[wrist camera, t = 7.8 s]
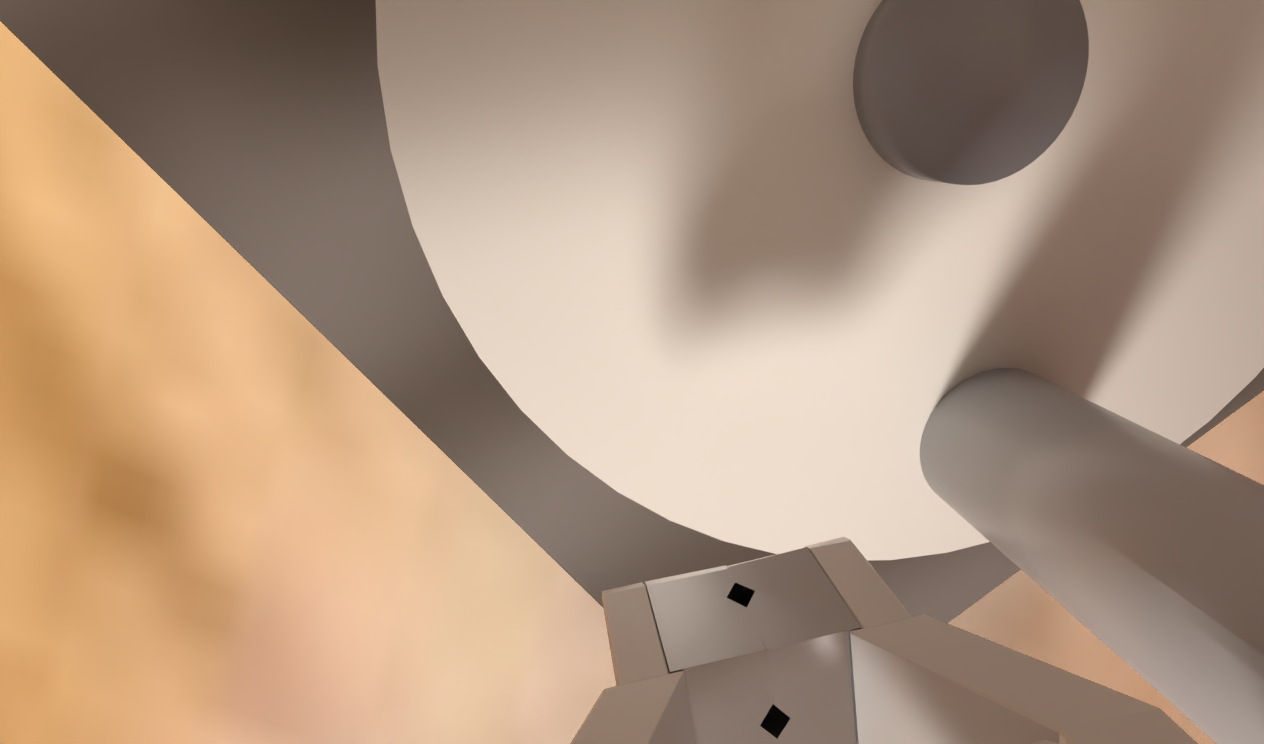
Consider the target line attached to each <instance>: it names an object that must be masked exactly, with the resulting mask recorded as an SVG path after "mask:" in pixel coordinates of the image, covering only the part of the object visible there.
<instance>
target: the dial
mask: <svg viewBox="0 0 1264 744" xmlns="http://www.w3.org/2000/svg"><path fill="white" fill-rule="evenodd" d="M376 31H377V65H378V72H379V79H380V85H381V91H382V98H383V104H384V111H385V117H386V124H387V130H388V136H389V143H390V149H391V153H392V156H393V160H394V163H395V167H396V170H397V174H398V177H399V181H400V184H401V188H402V191H403V195H404V198H405V202H406V205H407V209H408V212H409V215H410V219H411V222H412V226H413V228H414V231H415V233H416V235H417V238H418V240H419V242H420V245H421V247H422V249H423V252H424V254H425V256H426V258H427V261H428V263H429V265H430V268H431V270H432V272H433V275H434V277H435V279H436V282H437V284H438V286H439V289H440V291H441V293H442V296H443V297H444V299H445V301H446V302H447V304H448V306H449V307H450V309H451V311H452V312H453V314H454V316H455V317H456V319H457V321H458V322H459V324H460V326H461V328H462V329H463V331H464V333H465V334H466V336H467V338H468V339H469V341H470V343H471V344H472V346H473V348H474V349H475V351H476V353H477V354H478V356H479V358H480V359H481V360H482V361H483V363H484V364H485V365H486V366H487V368H488V369H489V370H490V372H491V373H492V374H493V375H494V377H495V378H496V379H497V380H498V382H499V383H500V384H501V385H502V387H503V388H504V389H505V391H506V392H507V393H508V394H509V396H510V397H511V398H512V399H513V401H514V402H515V403H516V404H517V406H518V407H519V408H520V409H521V411H522V412H523V413H524V414H525V415H527V416H528V417H529V418H530V419H531V420H532V421H533V422H534V423H535V424H536V425H537V426H538V427H539V428H540V429H541V430H542V431H543V432H544V433H545V434H546V435H547V436H548V437H549V438H550V439H551V440H552V441H553V442H554V443H555V444H556V445H558V446H559V447H560V448H561V449H562V450H563V451H564V452H565V453H566V454H567V455H568V456H569V457H571V458H572V459H573V460H575V461H576V462H577V463H579V464H580V465H582V466H583V467H584V468H586V469H587V470H588V471H590V472H591V473H592V474H594V475H595V476H596V477H598V478H599V479H601V480H602V481H603V482H605V483H606V484H607V485H609V486H610V487H611V488H613V489H614V490H615V491H617V492H619V493H620V494H622V495H624V496H626V497H628V498H629V499H631V500H633V501H635V502H637V503H639V504H640V505H642V506H644V507H646V508H648V509H650V510H651V511H653V512H655V513H657V514H659V515H661V516H662V517H664V518H666V519H668V520H670V521H672V522H675V523H677V524H680V525H683V526H685V527H688V528H690V529H693V530H696V531H698V532H701V533H703V534H706V535H709V536H711V537H714V538H716V539H719V540H722V541H724V542H728V543H733V544H737V545H741V546H745V547H749V548H753V549H757V550H762V551H766V552H770V553H774V554H780V553H784V552H788V551H793V550H797V549H801V548H804V547H805V546H809V545H813V544H817V543H820V542H824V541H828V540H832V539H836V538H840V537H846V538H848V539H851V541H852V542H853V543H854V544H855V546H856V547H857V548H858V550H859V551H860V552H861V553H862V555H863V556H864V557H865V558H866V560H896V559H904V558H911V557H919V556H926V555H934V554H941V553H948V552H952V551H956V550H960V549H964V548H968V547H972V546H976V545H980V544H984V543H987V542H991V543H992V544H993V545H994V546H995V547H996V548H997V549H999V550H1000V551H1001V552H1002V553H1003V554H1004V555H1005V556H1006V557H1008V558H1009V559H1010V560H1011V561H1012V562H1013V563H1014V564H1015V565H1017V566H1018V567H1019V568H1020V569H1021V570H1022V571H1023V572H1024V573H1026V574H1027V575H1028V576H1029V577H1030V578H1031V579H1032V580H1033V581H1035V582H1036V583H1037V584H1038V585H1039V586H1040V587H1041V588H1042V589H1043V590H1045V591H1046V592H1047V593H1048V594H1049V595H1050V596H1051V597H1052V598H1054V599H1055V600H1056V601H1057V602H1058V603H1059V604H1060V605H1061V606H1063V607H1064V608H1065V609H1066V610H1067V611H1068V612H1069V613H1070V614H1072V615H1073V616H1074V617H1075V618H1076V619H1077V620H1078V621H1079V622H1081V623H1082V624H1083V625H1084V626H1085V627H1086V628H1087V629H1088V630H1090V631H1091V632H1092V633H1093V634H1094V635H1095V636H1096V637H1097V638H1099V639H1100V640H1101V641H1102V642H1103V643H1104V644H1105V645H1106V646H1108V647H1109V648H1110V649H1111V650H1112V651H1113V652H1114V653H1115V654H1116V655H1118V656H1119V657H1120V658H1121V659H1122V660H1123V661H1124V662H1125V663H1127V664H1128V665H1129V666H1130V667H1131V668H1132V669H1133V670H1134V671H1136V672H1137V673H1138V674H1139V675H1140V676H1141V677H1142V678H1143V679H1145V680H1146V681H1147V682H1148V683H1149V684H1150V685H1151V686H1152V687H1154V688H1155V689H1156V690H1157V691H1158V692H1159V693H1160V694H1161V695H1163V696H1164V697H1165V698H1166V699H1167V700H1168V701H1169V702H1170V703H1172V704H1173V705H1174V706H1175V707H1176V708H1177V709H1178V710H1179V711H1181V712H1182V713H1183V714H1184V715H1185V716H1186V717H1187V718H1188V719H1189V720H1191V721H1192V722H1193V723H1194V724H1195V725H1196V726H1197V727H1198V728H1200V729H1201V730H1202V731H1203V732H1204V733H1205V734H1206V735H1207V736H1209V737H1210V738H1211V739H1212V740H1213V741H1214V742H1215V743H1216V744H1264V485H1262V484H1260V483H1258V482H1256V481H1254V480H1252V479H1250V478H1248V477H1245V476H1243V475H1241V474H1239V473H1237V472H1235V471H1233V470H1231V469H1229V468H1227V467H1225V466H1223V465H1221V464H1219V463H1217V462H1215V461H1212V460H1210V459H1208V458H1206V457H1204V456H1202V455H1200V454H1198V453H1196V452H1194V451H1192V450H1190V449H1188V448H1186V447H1184V446H1182V445H1180V444H1181V443H1182V442H1183V441H1185V440H1186V439H1187V438H1189V437H1190V436H1191V435H1192V434H1194V433H1195V432H1196V431H1198V430H1199V429H1200V428H1201V427H1203V426H1204V425H1205V424H1206V423H1208V422H1209V421H1210V420H1211V419H1212V418H1213V417H1214V416H1215V415H1216V414H1217V413H1218V412H1219V411H1221V410H1222V409H1223V408H1224V407H1225V406H1226V405H1227V404H1228V403H1229V402H1230V401H1231V400H1232V399H1233V398H1234V397H1235V396H1236V395H1237V394H1238V393H1239V392H1240V391H1242V390H1243V389H1244V388H1245V387H1246V386H1247V385H1248V384H1249V383H1250V382H1251V381H1252V380H1253V379H1254V378H1255V377H1256V376H1257V375H1258V374H1259V372H1260V371H1261V370H1262V369H1263V368H1264V0H376Z"/></svg>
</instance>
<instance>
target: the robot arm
mask: <svg viewBox="0 0 1264 744" xmlns="http://www.w3.org/2000/svg"><path fill="white" fill-rule="evenodd" d="M602 602H603V608H604V614H605V620H606V626H607V632H608V638H609V644H610V650H611V656H612V662H613V668H614V674H615V680H616V686H615V687H611V688H607V689H604V690H603V692H602V693H601V695H600V696H599V698H598V700H597V701H596V703H595V705H594V706H593V708H592V709H591V711H590V713H589V714H588V716H587V717H586V719H585V721H584V722H583V724H582V726H581V727H580V729H579V730H578V732H577V734H576V735H575V737H574V739H573V740H572V742H571V743H570V744H1198V743H1197V742H1195V741H1194V740H1193V739H1192V738H1191V737H1190V736H1189V735H1188V734H1187V733H1186V732H1185V731H1184V730H1183V729H1181V728H1180V727H1179V726H1178V725H1177V724H1176V723H1175V722H1174V721H1173V720H1172V719H1171V718H1170V717H1168V716H1167V715H1166V714H1165V713H1164V712H1163V711H1162V710H1161V709H1160V708H1157V707H1155V706H1152V705H1150V704H1147V703H1145V702H1142V701H1140V700H1137V699H1135V698H1132V697H1130V696H1127V695H1125V694H1122V693H1120V692H1117V691H1115V690H1112V689H1110V688H1107V687H1105V686H1102V685H1100V684H1097V683H1095V682H1092V681H1090V680H1087V679H1085V678H1082V677H1080V676H1077V675H1075V674H1072V673H1070V672H1067V671H1065V670H1062V669H1060V668H1057V667H1055V666H1052V665H1050V664H1047V663H1045V662H1042V661H1040V660H1037V659H1035V658H1032V657H1030V656H1027V655H1025V654H1022V653H1020V652H1017V651H1015V650H1012V649H1010V648H1007V647H1005V646H1002V645H1000V644H997V643H995V642H992V641H990V640H987V639H985V638H982V637H980V636H977V635H975V634H972V633H970V632H967V631H965V630H962V629H960V628H957V627H955V626H952V625H950V624H947V623H945V622H942V621H940V620H937V619H935V618H932V617H930V616H927V615H925V614H924V615H920V616H915V617H912V616H911V615H910V614H909V612H908V611H907V610H906V609H905V607H904V606H903V605H902V604H901V602H900V601H899V600H898V599H897V597H896V596H895V595H894V594H893V592H892V591H891V590H890V588H889V587H888V586H887V585H886V583H885V582H884V581H883V580H882V578H881V577H880V576H879V575H878V573H877V572H876V571H875V570H874V568H873V567H872V566H871V565H870V563H869V562H868V561H867V560H866V558H865V557H864V556H863V555H862V553H861V552H860V551H859V550H858V548H857V547H856V546H855V544H854V543H853V542H852V541H851V539H848V538H846V537H840V538H836V539H832V540H828V541H824V542H820V543H817V544H813V545H809V546H805V547H804V548H801V549H797V550H793V551H788V552H784V553H780V554H776V555H772V556H767V557H763V558H759V559H755V560H751V561H746V562H742V563H738V564H734V565H730V566H726V565H725V566H720V567H715V568H710V569H705V570H700V571H695V572H690V573H685V574H680V575H675V576H670V577H665V578H660V579H655V580H651V581H646V582H645V585H644V584H643V583H642V582H640V583H636V584H631V585H627V586H623V587H618V588H614V589H609V590H605V591H602Z"/></svg>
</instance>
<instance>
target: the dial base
mask: <svg viewBox="0 0 1264 744" xmlns="http://www.w3.org/2000/svg"><path fill="white" fill-rule="evenodd" d="M0 21H1V22H2V23H3V24H4V25H5V26H6V27H7V28H8V29H9V30H10V31H11V32H12V33H13V34H14V35H15V36H16V37H17V38H18V39H19V40H20V41H21V42H22V43H23V44H24V45H25V46H26V47H28V48H29V49H30V50H31V51H32V52H33V53H34V54H35V55H36V56H37V57H38V58H39V59H40V60H41V61H42V62H43V63H44V64H45V65H46V66H47V67H48V68H49V69H50V70H51V71H52V72H53V73H54V74H55V75H56V76H57V77H58V78H59V79H60V80H61V81H62V82H63V83H65V84H66V85H67V86H68V87H69V88H70V89H71V90H72V91H73V92H74V93H75V94H76V95H77V96H78V97H79V98H80V99H81V100H82V101H83V102H84V103H85V104H86V105H87V106H88V107H89V108H90V109H91V110H92V111H93V112H94V113H95V114H96V115H97V116H98V117H99V118H100V119H102V120H103V121H104V122H105V123H106V124H107V125H108V126H109V127H110V128H111V129H112V130H113V131H114V132H115V133H116V134H117V135H118V136H119V137H120V138H121V139H122V140H123V141H124V142H125V143H126V144H127V145H128V146H129V147H130V148H131V149H132V150H133V151H134V152H135V153H136V154H137V155H139V156H140V157H141V158H142V159H143V160H144V161H145V162H146V163H147V164H148V165H149V166H150V167H151V168H152V169H153V170H154V171H155V172H156V173H157V174H158V175H159V176H160V177H161V178H162V179H163V180H164V181H165V182H166V183H167V184H168V185H169V186H170V187H171V188H172V189H173V190H175V191H176V192H177V193H178V194H179V195H180V196H181V197H182V198H183V199H184V200H185V201H186V202H187V203H188V204H189V205H190V206H191V207H192V208H193V209H194V210H195V211H196V212H197V213H198V214H199V215H200V216H201V217H202V218H203V219H204V220H205V221H206V222H207V223H208V224H209V225H210V226H212V227H213V228H214V229H215V230H216V231H217V232H218V233H219V234H220V235H221V236H222V237H223V238H224V239H225V240H226V241H227V242H228V243H229V244H230V245H231V246H232V247H233V248H234V249H235V250H236V251H237V252H238V253H239V254H240V255H241V256H242V257H243V258H244V259H245V260H246V261H247V262H249V263H250V264H251V265H252V266H253V267H254V268H255V269H256V270H257V271H258V272H259V273H260V274H261V275H262V276H263V277H264V278H265V279H266V280H267V281H268V282H269V283H270V284H271V285H272V286H273V287H274V288H275V289H276V290H277V291H278V292H279V293H280V294H281V295H282V296H283V297H284V298H286V299H287V300H288V301H289V302H290V303H291V304H292V305H293V306H294V307H295V308H296V309H297V310H298V311H299V312H300V313H301V314H302V315H303V316H304V317H305V318H306V319H307V320H308V321H309V322H310V323H311V324H312V325H313V326H314V327H315V328H316V329H317V330H318V331H319V332H320V333H321V334H323V335H324V336H325V337H326V338H327V339H328V340H329V341H330V342H331V343H332V344H333V345H334V346H335V347H336V348H337V349H338V350H339V351H340V352H341V353H342V354H343V355H344V356H345V357H346V358H347V359H348V360H349V361H350V362H351V363H352V364H353V365H354V366H355V367H356V368H357V369H358V370H360V371H361V372H362V373H363V374H364V375H365V376H366V377H367V378H368V379H369V380H370V381H371V382H372V383H373V384H374V385H375V386H376V387H377V388H378V389H379V390H380V391H381V392H382V393H383V394H384V395H385V396H386V397H387V398H388V399H389V400H390V401H391V402H392V403H393V404H394V405H395V406H397V407H398V408H399V409H400V410H401V411H402V412H403V413H404V414H405V415H406V416H407V417H408V418H409V419H410V420H411V421H412V422H413V423H414V424H415V425H416V426H417V427H418V428H419V429H420V430H421V431H422V432H423V433H424V434H425V435H426V436H427V437H428V438H429V439H430V440H431V441H432V442H434V443H435V444H436V445H437V446H438V447H439V448H440V449H441V450H442V451H443V452H444V453H445V454H446V455H447V456H448V457H449V458H450V459H451V460H452V461H453V462H454V463H455V464H456V465H457V466H458V467H459V468H460V469H461V470H462V471H463V472H464V473H465V474H466V475H467V476H468V477H469V478H471V479H472V480H473V481H474V482H475V483H476V484H477V485H478V486H479V487H480V488H481V489H482V490H483V491H484V492H485V493H486V494H487V495H488V496H489V497H490V498H491V499H492V500H493V501H494V502H495V503H496V504H497V505H498V506H499V507H500V508H501V509H502V510H503V511H504V512H505V513H506V514H508V515H509V516H510V517H511V518H512V519H513V520H514V521H515V522H516V523H517V524H518V525H519V526H520V527H521V528H522V529H523V530H524V531H525V532H526V533H527V534H528V535H529V536H530V537H531V538H532V539H533V540H534V541H535V542H536V543H537V544H538V545H539V546H540V547H541V548H542V549H544V550H545V551H546V552H547V553H548V554H549V555H550V556H551V557H552V558H553V559H554V560H555V561H556V562H557V563H558V564H559V565H560V566H561V567H562V568H563V569H564V570H565V571H566V572H567V573H568V574H569V575H570V576H571V577H572V578H573V579H574V580H575V581H576V582H577V583H578V584H579V585H581V586H582V587H583V588H584V589H585V590H586V591H587V592H588V593H589V594H590V595H591V596H592V597H593V598H594V599H595V600H596V601H597V602H598V603H599V604H600V605H601V606H602V607H603V602H602V591H605V590H609V589H614V588H618V587H623V586H627V585H631V584H636V583H640V582H642V583H643V584H644V585H645V582H646V581H651V580H655V579H660V578H665V577H670V576H675V575H680V574H685V573H690V572H695V571H700V570H705V569H710V568H715V567H720V566H725V565H726V566H730V565H734V564H738V563H742V562H746V561H751V560H755V559H759V558H763V557H767V556H772V555H776V554H774V553H770V552H766V551H762V550H757V549H753V548H749V547H745V546H741V545H737V544H733V543H728V542H724V541H722V540H719V539H716V538H714V537H711V536H709V535H706V534H703V533H701V532H698V531H696V530H693V529H690V528H688V527H685V526H683V525H680V524H677V523H675V522H672V521H670V520H668V519H666V518H664V517H662V516H661V515H659V514H657V513H655V512H653V511H651V510H650V509H648V508H646V507H644V506H642V505H640V504H639V503H637V502H635V501H633V500H631V499H629V498H628V497H626V496H624V495H622V494H620V493H619V492H617V491H615V490H614V489H613V488H611V487H610V486H609V485H607V484H606V483H605V482H603V481H602V480H601V479H599V478H598V477H596V476H595V475H594V474H592V473H591V472H590V471H588V470H587V469H586V468H584V467H583V466H582V465H580V464H579V463H577V462H576V461H575V460H573V459H572V458H571V457H569V456H568V455H567V454H566V453H565V452H564V451H563V450H562V449H561V448H560V447H559V446H558V445H556V444H555V443H554V442H553V441H552V440H551V439H550V438H549V437H548V436H547V435H546V434H545V433H544V432H543V431H542V430H541V429H540V428H539V427H538V426H537V425H536V424H535V423H534V422H533V421H532V420H531V419H530V418H529V417H528V416H527V415H525V414H524V413H523V412H522V411H521V409H520V408H519V407H518V406H517V404H516V403H515V402H514V401H513V399H512V398H511V397H510V396H509V394H508V393H507V392H506V391H505V389H504V388H503V387H502V385H501V384H500V383H499V382H498V380H497V379H496V378H495V377H494V375H493V374H492V373H491V372H490V370H489V369H488V368H487V366H486V365H485V364H484V363H483V361H482V360H481V359H480V358H479V356H478V354H477V353H476V351H475V349H474V348H473V346H472V344H471V343H470V341H469V339H468V338H467V336H466V334H465V333H464V331H463V329H462V328H461V326H460V324H459V322H458V321H457V319H456V317H455V316H454V314H453V312H452V311H451V309H450V307H449V306H448V304H447V302H446V301H445V299H444V297H443V296H442V293H441V291H440V289H439V286H438V284H437V282H436V279H435V277H434V275H433V272H432V270H431V268H430V265H429V263H428V261H427V258H426V256H425V254H424V252H423V249H422V247H421V245H420V242H419V240H418V238H417V235H416V233H415V231H414V228H413V226H412V222H411V219H410V215H409V212H408V209H407V205H406V202H405V198H404V195H403V191H402V188H401V184H400V181H399V177H398V174H397V170H396V167H395V163H394V160H393V156H392V153H391V149H390V143H389V136H388V130H387V124H386V117H385V111H384V104H383V98H382V91H381V85H380V79H379V72H378V65H377V31H376V0H0ZM1263 390H1264V368H1263V369H1262V370H1261V371H1260V372H1259V374H1258V375H1257V376H1256V377H1255V378H1254V379H1253V380H1252V381H1251V382H1250V383H1249V384H1248V385H1247V386H1246V387H1245V388H1244V389H1243V390H1242V391H1240V392H1239V393H1238V394H1237V395H1236V396H1235V397H1234V398H1233V399H1232V400H1231V401H1230V402H1229V403H1228V404H1227V405H1226V406H1225V407H1224V408H1223V409H1222V410H1221V411H1219V412H1218V413H1217V414H1216V415H1215V416H1214V417H1213V418H1212V419H1211V420H1210V421H1209V422H1208V423H1206V424H1205V425H1204V426H1203V427H1201V428H1200V429H1199V430H1198V431H1196V432H1195V433H1194V434H1192V435H1191V436H1190V437H1189V438H1187V439H1186V440H1185V441H1183V442H1182V443H1181V444H1180V445H1182V446H1184V447H1187V446H1189V445H1190V444H1191V443H1193V442H1194V441H1195V440H1197V439H1198V438H1200V437H1201V436H1202V435H1204V434H1205V433H1206V432H1208V431H1209V430H1210V429H1212V428H1213V427H1215V426H1216V425H1217V424H1219V423H1220V422H1221V421H1223V420H1224V419H1225V418H1227V417H1228V416H1229V415H1231V414H1232V413H1234V412H1235V411H1236V410H1238V409H1239V408H1240V407H1242V406H1243V405H1244V404H1246V403H1247V402H1248V401H1250V400H1251V399H1253V398H1254V397H1255V396H1257V395H1258V394H1259V393H1261V392H1262V391H1263ZM867 561H868V562H869V563H870V565H871V566H872V567H873V568H874V570H875V571H876V572H877V573H878V575H879V576H880V577H881V578H882V580H883V581H884V582H885V583H886V585H887V586H888V587H889V588H890V590H891V591H892V592H893V594H894V595H895V596H896V597H897V599H898V600H899V601H900V602H901V604H902V605H903V606H904V607H905V609H906V610H907V611H908V612H909V614H910V615H911V616H912V617H915V616H920V615H924V614H925V615H927V616H930V617H932V618H935V619H937V620H940V621H942V622H945V623H948V622H950V621H951V620H952V619H954V618H955V617H956V616H958V615H959V614H960V613H962V612H963V611H965V610H966V609H967V608H969V607H970V606H971V605H973V604H974V603H975V602H977V601H978V600H979V599H981V598H982V597H984V596H985V595H986V594H988V593H989V592H990V591H992V590H993V589H994V588H996V587H997V586H998V585H1000V584H1001V583H1003V582H1004V581H1005V580H1007V579H1008V578H1009V577H1011V576H1012V575H1013V574H1015V573H1016V572H1018V571H1019V570H1020V568H1019V567H1018V566H1017V565H1015V564H1014V563H1013V562H1012V561H1011V560H1010V559H1009V558H1008V557H1006V556H1005V555H1004V554H1003V553H1002V552H1001V551H1000V550H999V549H997V548H996V547H995V546H994V545H993V544H992V543H991V542H987V543H984V544H980V545H976V546H972V547H968V548H964V549H960V550H956V551H952V552H948V553H941V554H934V555H926V556H919V557H911V558H904V559H896V560H867Z"/></svg>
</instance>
